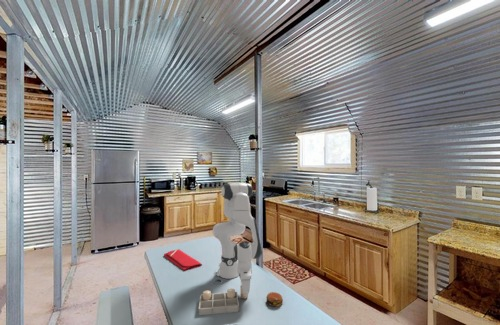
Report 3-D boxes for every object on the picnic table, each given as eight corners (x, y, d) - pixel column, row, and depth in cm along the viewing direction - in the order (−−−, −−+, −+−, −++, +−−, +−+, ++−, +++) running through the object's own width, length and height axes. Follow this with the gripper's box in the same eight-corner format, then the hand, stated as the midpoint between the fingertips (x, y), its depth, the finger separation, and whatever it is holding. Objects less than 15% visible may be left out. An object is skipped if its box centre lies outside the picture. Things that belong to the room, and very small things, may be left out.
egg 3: (240, 294, 146) (240, 284, 146) (247, 293, 146) (247, 284, 146) (240, 298, 141) (240, 288, 141) (248, 298, 142) (248, 288, 142)
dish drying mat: (184, 272, 181) (184, 267, 181) (163, 256, 212) (163, 252, 212) (202, 266, 191) (202, 261, 191) (179, 252, 222) (179, 248, 222)
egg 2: (227, 298, 142) (227, 288, 142) (234, 298, 143) (234, 288, 143) (227, 303, 138) (227, 292, 138) (235, 302, 138) (235, 292, 139)
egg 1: (202, 300, 140) (202, 290, 141) (210, 300, 141) (210, 290, 141) (202, 305, 136) (202, 294, 136) (210, 304, 137) (210, 294, 137)
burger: (275, 296, 146) (275, 288, 146) (285, 304, 138) (285, 296, 138) (262, 301, 141) (262, 293, 141) (272, 309, 133) (272, 301, 133)
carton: (200, 300, 142) (200, 294, 142) (237, 297, 145) (237, 291, 145) (198, 316, 127) (198, 309, 127) (239, 312, 130) (239, 305, 130)
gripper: (238, 262, 153) (237, 284, 154) (240, 278, 133) (240, 302, 133) (247, 262, 154) (247, 283, 154) (251, 277, 134) (251, 302, 134)
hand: (244, 292), depth 144 cm, fingers closed on egg 3, 5 cm apart
